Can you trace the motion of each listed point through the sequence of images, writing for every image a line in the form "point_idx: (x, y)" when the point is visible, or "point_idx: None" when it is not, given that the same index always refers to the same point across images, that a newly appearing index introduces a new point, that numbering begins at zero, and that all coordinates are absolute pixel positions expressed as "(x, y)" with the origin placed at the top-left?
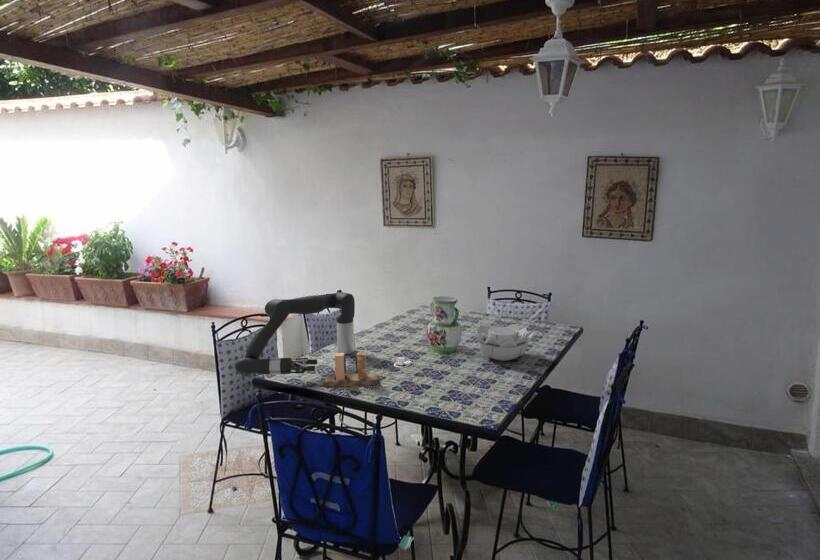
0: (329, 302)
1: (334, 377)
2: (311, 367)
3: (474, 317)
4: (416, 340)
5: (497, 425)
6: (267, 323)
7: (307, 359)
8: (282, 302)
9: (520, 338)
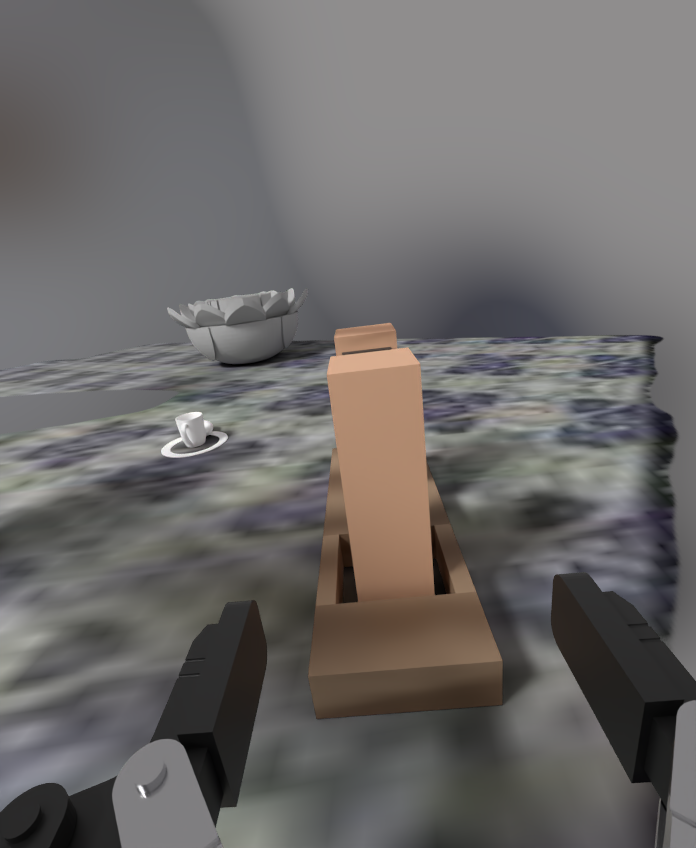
0: None
1: (377, 601)
2: (635, 618)
3: None
4: None
5: (622, 335)
6: None
7: (162, 781)
8: None
9: (293, 291)
